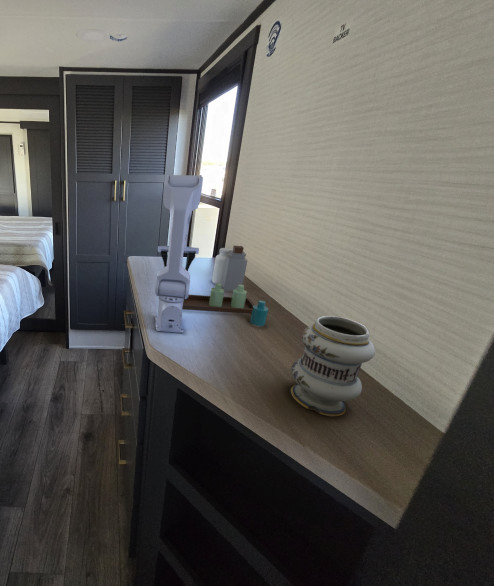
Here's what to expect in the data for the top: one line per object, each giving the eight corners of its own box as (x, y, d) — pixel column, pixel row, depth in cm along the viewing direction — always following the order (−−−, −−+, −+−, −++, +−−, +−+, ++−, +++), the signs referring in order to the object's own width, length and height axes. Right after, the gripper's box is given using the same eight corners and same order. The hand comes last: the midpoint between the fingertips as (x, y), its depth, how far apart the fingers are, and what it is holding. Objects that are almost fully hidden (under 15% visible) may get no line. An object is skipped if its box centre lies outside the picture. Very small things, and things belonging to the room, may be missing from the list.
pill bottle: (207, 281, 138) (212, 247, 132) (221, 279, 141) (226, 246, 135) (221, 287, 131) (226, 252, 126) (235, 284, 134) (241, 250, 129)
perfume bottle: (241, 293, 125) (249, 249, 118) (223, 291, 126) (230, 248, 119) (237, 287, 131) (245, 245, 124) (221, 286, 132) (228, 244, 125)
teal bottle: (266, 328, 97) (272, 304, 94) (251, 327, 97) (257, 304, 94) (261, 322, 101) (266, 299, 98) (247, 321, 101) (252, 298, 98)
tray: (257, 316, 105) (258, 310, 104) (179, 311, 107) (180, 305, 107) (247, 303, 115) (248, 298, 114) (176, 299, 117) (177, 293, 116)
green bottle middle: (223, 308, 108) (226, 286, 106) (210, 307, 109) (213, 286, 106) (220, 303, 112) (223, 282, 110) (207, 302, 113) (210, 281, 110)
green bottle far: (245, 309, 108) (249, 288, 105) (232, 308, 108) (236, 287, 105) (241, 304, 112) (245, 283, 109) (229, 303, 112) (232, 283, 109)
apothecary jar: (282, 404, 65) (304, 327, 58) (287, 375, 74) (307, 306, 68) (354, 430, 59) (388, 347, 52) (350, 395, 68) (378, 321, 61)
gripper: (198, 234, 115) (194, 269, 120) (158, 232, 117) (156, 267, 122) (201, 237, 108) (196, 275, 113) (159, 236, 110) (156, 272, 115)
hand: (175, 271), depth 117 cm, fingers open, 7 cm apart
